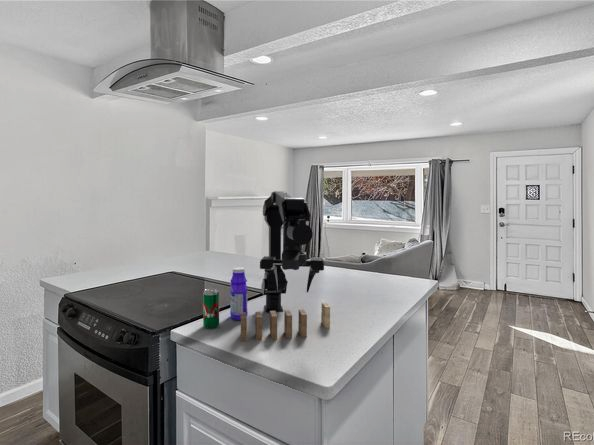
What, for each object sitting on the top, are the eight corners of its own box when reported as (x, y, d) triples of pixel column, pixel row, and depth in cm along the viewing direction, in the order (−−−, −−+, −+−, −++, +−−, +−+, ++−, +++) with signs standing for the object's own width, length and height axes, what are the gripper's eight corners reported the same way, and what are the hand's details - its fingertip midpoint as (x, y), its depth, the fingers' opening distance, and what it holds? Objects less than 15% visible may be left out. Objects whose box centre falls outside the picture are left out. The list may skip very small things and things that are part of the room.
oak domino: (321, 322, 119) (321, 302, 118) (325, 322, 119) (326, 302, 119) (325, 328, 114) (325, 306, 113) (329, 327, 114) (330, 306, 114)
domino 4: (284, 332, 111) (284, 310, 110) (289, 331, 111) (289, 309, 110) (286, 338, 106) (286, 315, 105) (292, 338, 106) (292, 315, 105)
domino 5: (298, 331, 111) (298, 309, 111) (303, 330, 112) (303, 309, 111) (301, 337, 106) (301, 314, 106) (306, 337, 107) (306, 314, 106)
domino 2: (255, 333, 109) (255, 311, 108) (260, 333, 109) (260, 311, 109) (256, 340, 104) (256, 317, 103) (262, 340, 104) (262, 316, 104)
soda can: (220, 323, 117) (220, 288, 116) (217, 329, 112) (217, 292, 111) (205, 323, 117) (204, 288, 116) (201, 329, 112) (201, 292, 111)
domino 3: (269, 332, 110) (270, 310, 109) (275, 332, 110) (275, 310, 109) (271, 339, 105) (271, 316, 104) (277, 339, 105) (277, 316, 105)
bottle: (228, 315, 125) (228, 266, 124) (244, 313, 128) (243, 265, 126) (233, 322, 119) (232, 271, 117) (249, 319, 121) (249, 269, 120)
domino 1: (240, 334, 108) (240, 312, 107) (245, 334, 108) (245, 312, 108) (241, 341, 103) (241, 318, 103) (246, 341, 103) (246, 317, 103)
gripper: (256, 243, 97) (256, 298, 98) (324, 244, 96) (323, 300, 97) (262, 238, 108) (262, 287, 109) (324, 239, 107) (323, 289, 108)
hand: (292, 291), depth 106 cm, fingers open, 9 cm apart
